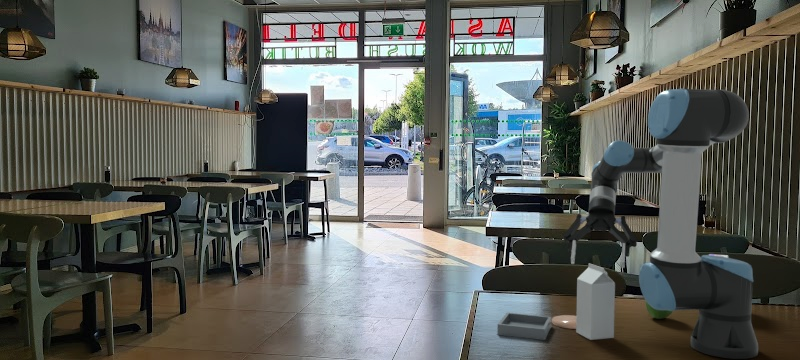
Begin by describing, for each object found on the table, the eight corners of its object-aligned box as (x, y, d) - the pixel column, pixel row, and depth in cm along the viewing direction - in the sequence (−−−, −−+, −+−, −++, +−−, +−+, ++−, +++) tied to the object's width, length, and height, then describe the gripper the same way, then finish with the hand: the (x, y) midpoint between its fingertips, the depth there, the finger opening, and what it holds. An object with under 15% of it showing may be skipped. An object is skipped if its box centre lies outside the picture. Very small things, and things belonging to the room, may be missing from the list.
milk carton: (590, 340, 166) (591, 269, 165) (575, 332, 173) (577, 263, 172) (614, 338, 168) (615, 267, 167) (598, 330, 175) (600, 262, 174)
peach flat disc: (599, 324, 180) (599, 321, 180) (574, 331, 174) (574, 328, 174) (568, 315, 189) (568, 313, 189) (543, 322, 183) (543, 319, 183)
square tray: (551, 326, 178) (551, 316, 178) (544, 339, 167) (544, 329, 166) (506, 321, 183) (507, 312, 183) (497, 334, 171) (497, 324, 171)
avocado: (644, 320, 185) (645, 279, 184) (646, 313, 192) (647, 274, 191) (673, 323, 181) (675, 282, 180) (674, 316, 188) (675, 277, 188)
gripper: (646, 214, 189) (644, 274, 176) (560, 210, 198) (553, 267, 185) (646, 198, 184) (645, 258, 171) (558, 195, 193) (551, 252, 180)
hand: (597, 263), depth 178 cm, fingers open, 13 cm apart
